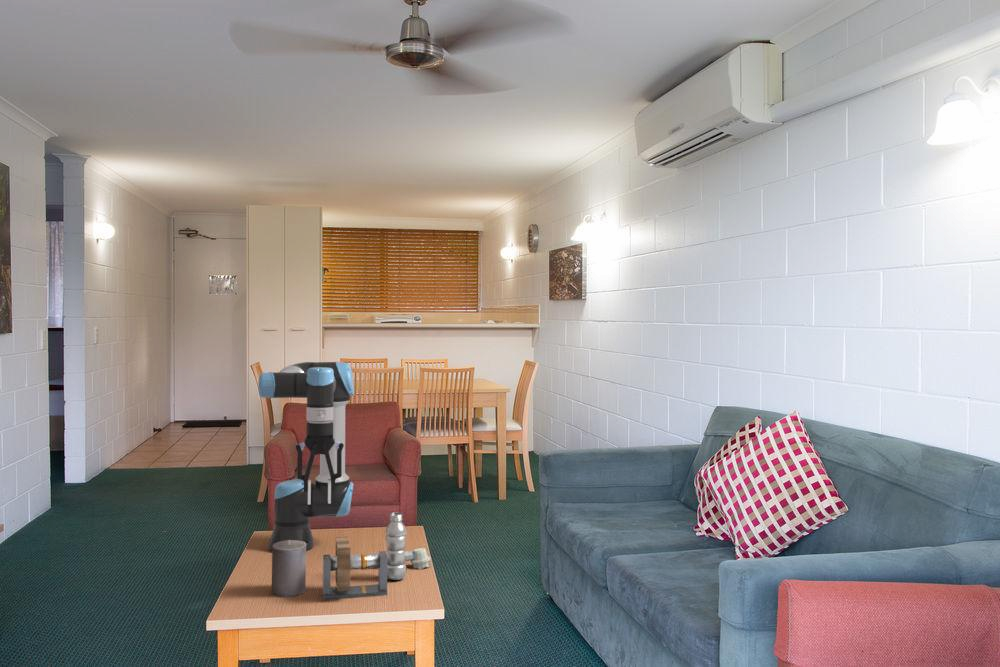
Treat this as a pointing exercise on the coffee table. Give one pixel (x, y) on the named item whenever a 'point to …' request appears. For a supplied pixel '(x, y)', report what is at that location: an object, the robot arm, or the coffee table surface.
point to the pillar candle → (288, 568)
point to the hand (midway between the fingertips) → (319, 502)
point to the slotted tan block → (342, 564)
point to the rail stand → (355, 563)
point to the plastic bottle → (396, 547)
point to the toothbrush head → (418, 558)
